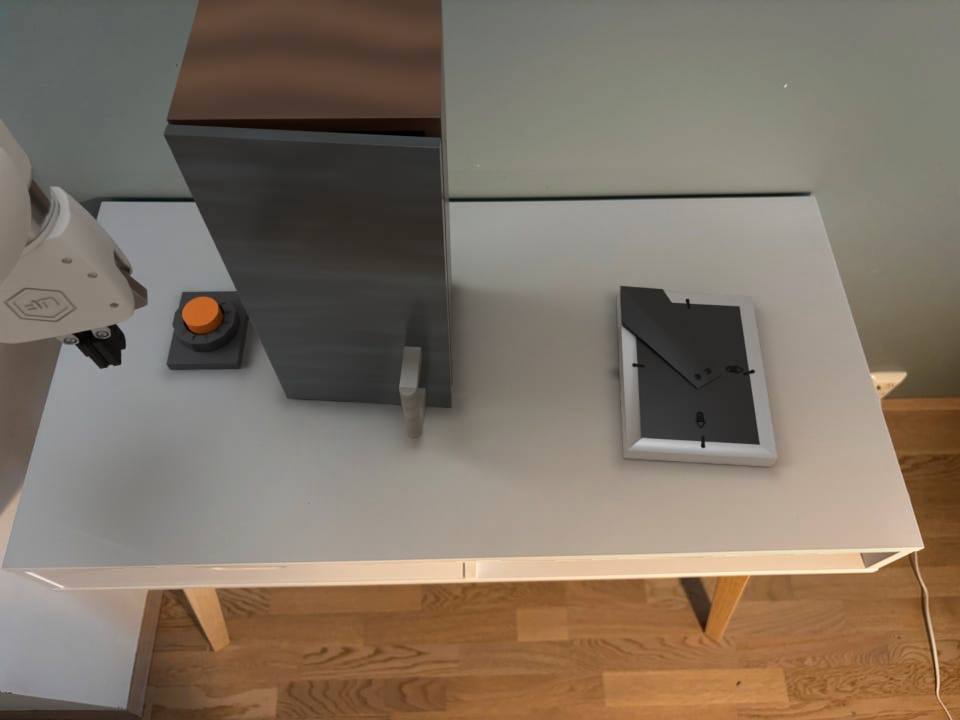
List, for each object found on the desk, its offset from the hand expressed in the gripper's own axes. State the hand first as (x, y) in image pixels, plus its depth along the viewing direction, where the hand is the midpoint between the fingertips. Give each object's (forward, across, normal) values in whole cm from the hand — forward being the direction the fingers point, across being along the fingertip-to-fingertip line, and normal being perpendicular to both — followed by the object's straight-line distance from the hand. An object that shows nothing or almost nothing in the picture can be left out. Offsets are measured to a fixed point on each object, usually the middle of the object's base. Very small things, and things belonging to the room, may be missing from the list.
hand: (111, 352), depth 61 cm
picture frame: (+20, +55, -5) cm, 59 cm away
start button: (+18, +3, +14) cm, 23 cm away
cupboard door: (+20, +19, -2) cm, 27 cm away
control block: (+20, +3, +14) cm, 25 cm away
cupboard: (+20, +22, +9) cm, 31 cm away
